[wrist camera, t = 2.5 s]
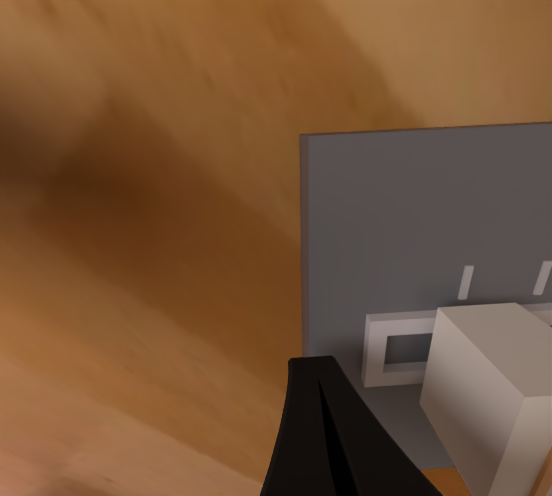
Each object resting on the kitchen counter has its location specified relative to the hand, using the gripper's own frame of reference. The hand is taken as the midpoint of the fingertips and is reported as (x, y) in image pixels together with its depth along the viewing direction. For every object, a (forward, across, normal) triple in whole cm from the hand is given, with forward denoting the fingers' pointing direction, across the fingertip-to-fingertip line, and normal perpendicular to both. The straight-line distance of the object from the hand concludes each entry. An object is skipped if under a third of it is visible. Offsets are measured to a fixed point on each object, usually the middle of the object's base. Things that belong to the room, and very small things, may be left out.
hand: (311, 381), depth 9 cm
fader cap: (+1, -5, 0) cm, 5 cm away
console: (+3, -8, 0) cm, 9 cm away
